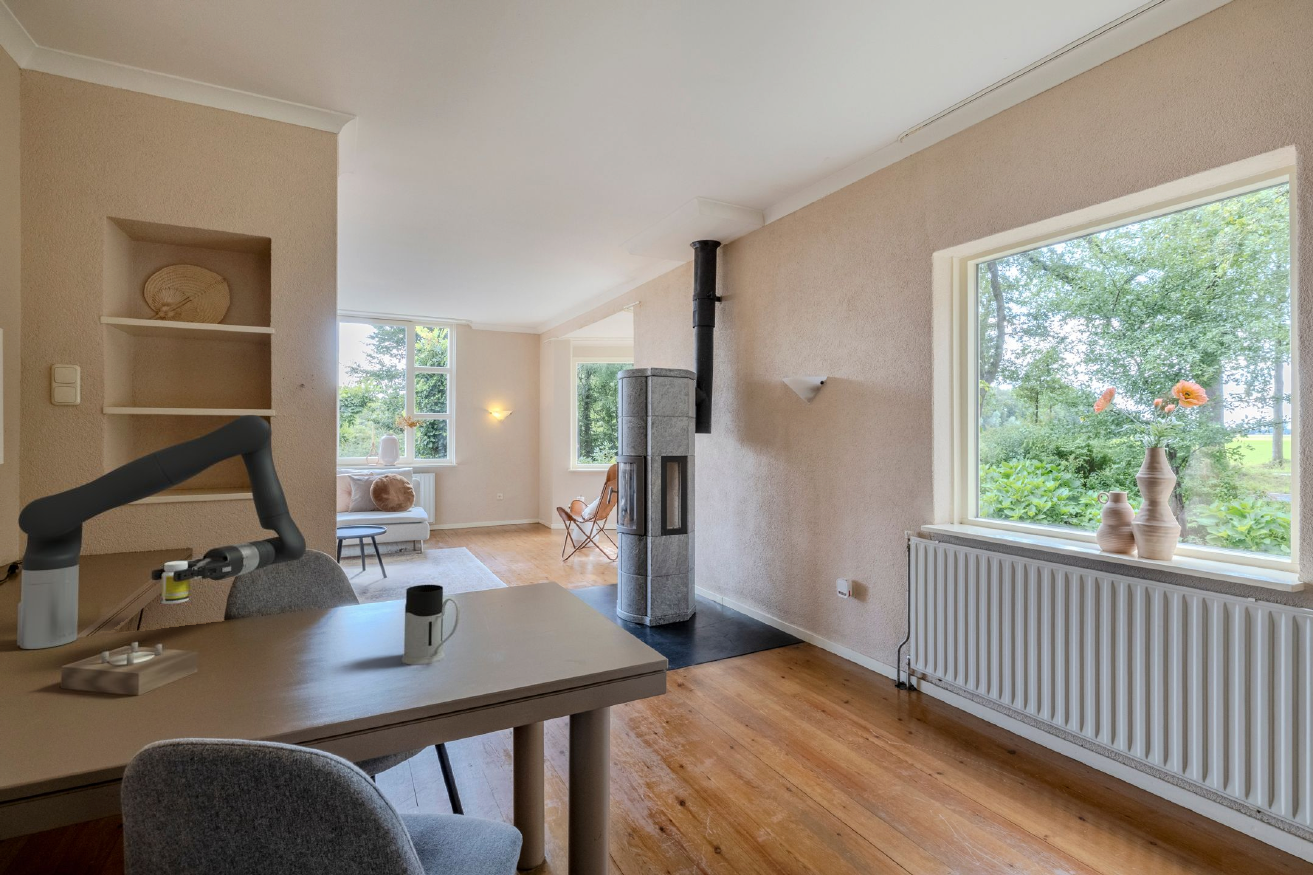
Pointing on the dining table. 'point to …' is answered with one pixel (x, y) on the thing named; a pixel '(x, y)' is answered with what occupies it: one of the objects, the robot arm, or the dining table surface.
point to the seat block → (129, 670)
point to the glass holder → (425, 624)
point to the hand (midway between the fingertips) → (164, 576)
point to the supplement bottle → (174, 584)
